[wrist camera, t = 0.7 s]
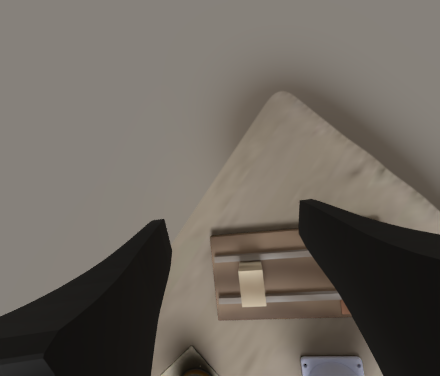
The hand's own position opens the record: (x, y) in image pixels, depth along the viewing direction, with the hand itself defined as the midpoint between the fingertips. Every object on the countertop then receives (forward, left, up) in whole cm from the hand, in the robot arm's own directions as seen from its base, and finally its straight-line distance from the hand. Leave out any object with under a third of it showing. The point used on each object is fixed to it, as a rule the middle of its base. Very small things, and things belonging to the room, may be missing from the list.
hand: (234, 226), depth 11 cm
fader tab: (-10, 0, -19) cm, 22 cm away
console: (-10, -7, -21) cm, 24 cm away
